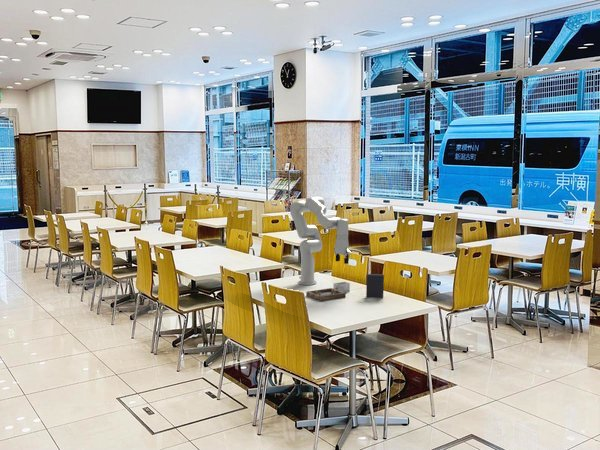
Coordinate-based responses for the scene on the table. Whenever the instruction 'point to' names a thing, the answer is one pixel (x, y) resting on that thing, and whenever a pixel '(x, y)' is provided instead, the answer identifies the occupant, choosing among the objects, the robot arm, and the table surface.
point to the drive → (342, 286)
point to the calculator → (375, 285)
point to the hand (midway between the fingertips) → (341, 262)
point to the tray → (325, 294)
